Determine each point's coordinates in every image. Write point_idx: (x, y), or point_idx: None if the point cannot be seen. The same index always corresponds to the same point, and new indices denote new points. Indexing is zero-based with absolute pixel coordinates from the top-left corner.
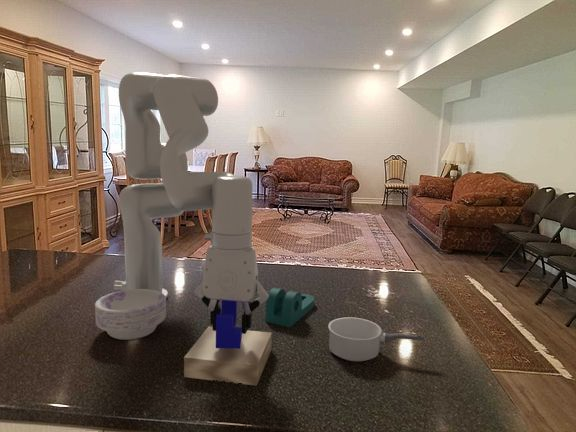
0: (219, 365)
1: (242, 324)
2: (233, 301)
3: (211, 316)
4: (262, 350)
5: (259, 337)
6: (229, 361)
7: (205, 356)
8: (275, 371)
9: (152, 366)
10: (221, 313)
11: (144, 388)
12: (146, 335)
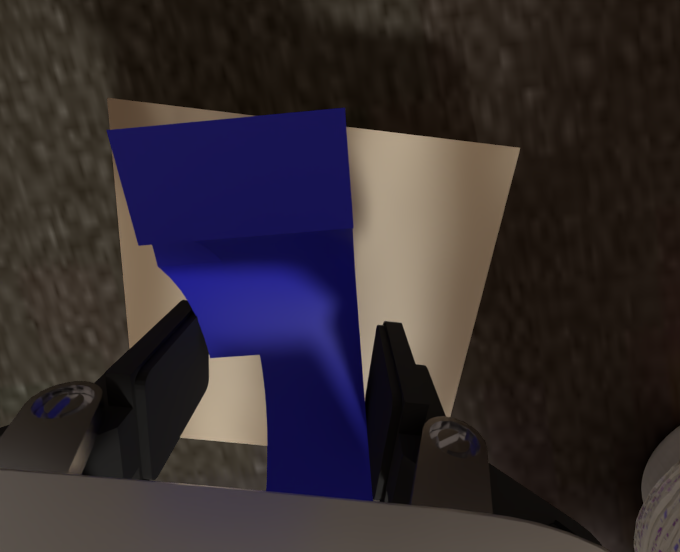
0: None
1: (176, 333)
2: None
3: (430, 397)
4: (129, 265)
5: None
6: None
7: (405, 170)
8: (118, 231)
9: (621, 220)
10: (368, 472)
11: (638, 35)
12: (671, 432)
